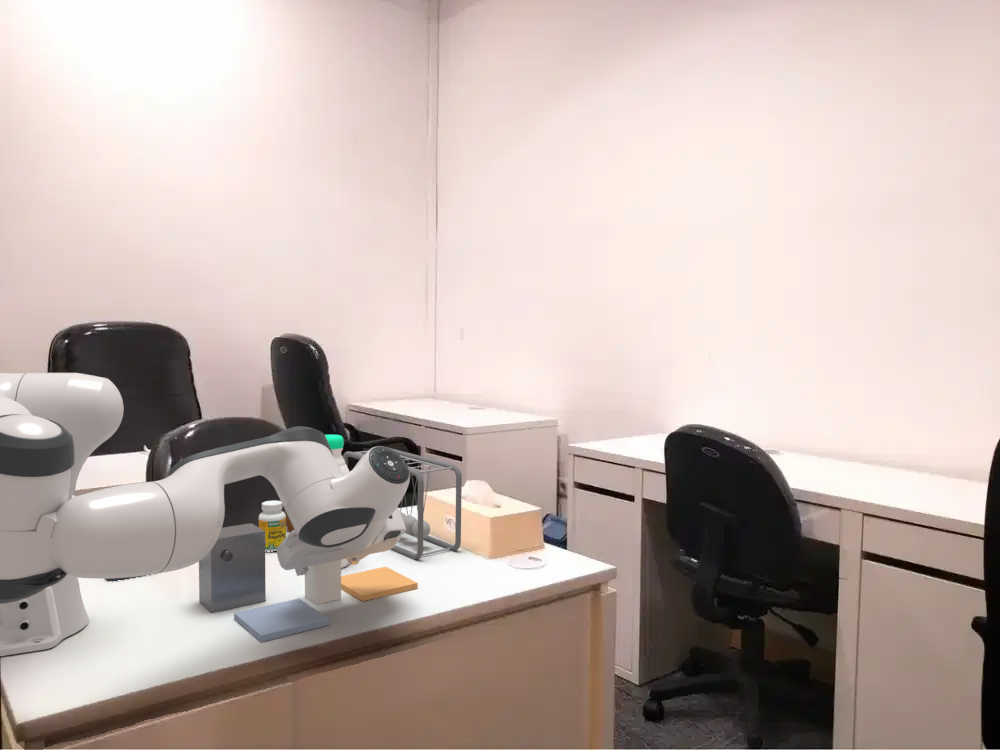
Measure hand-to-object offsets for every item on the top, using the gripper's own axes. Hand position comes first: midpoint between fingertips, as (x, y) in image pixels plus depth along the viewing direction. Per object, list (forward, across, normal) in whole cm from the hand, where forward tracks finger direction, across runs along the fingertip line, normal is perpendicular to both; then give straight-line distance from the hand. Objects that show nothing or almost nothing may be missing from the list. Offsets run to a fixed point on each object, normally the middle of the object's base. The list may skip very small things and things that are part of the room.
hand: (326, 566), depth 138 cm
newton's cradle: (+20, +28, +12) cm, 37 cm away
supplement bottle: (+27, +4, +18) cm, 33 cm away
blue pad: (0, -10, -8) cm, 13 cm away
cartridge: (+5, 0, -3) cm, 6 cm away
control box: (+10, -13, +2) cm, 16 cm away
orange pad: (+5, +10, -3) cm, 11 cm away
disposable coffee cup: (+34, +15, +26) cm, 45 cm away
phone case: (+31, -23, +22) cm, 45 cm away
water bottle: (+15, +9, +7) cm, 19 cm away
